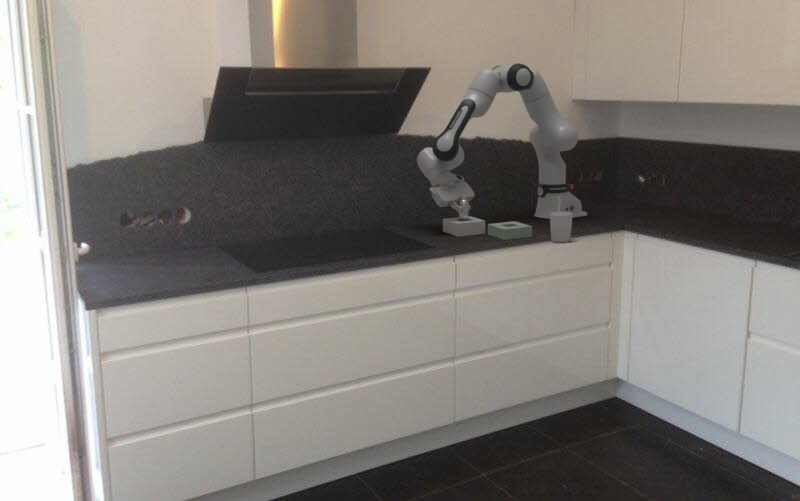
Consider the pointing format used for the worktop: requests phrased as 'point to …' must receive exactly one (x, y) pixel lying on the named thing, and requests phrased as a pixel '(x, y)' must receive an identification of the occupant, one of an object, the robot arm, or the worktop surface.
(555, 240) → the white cup
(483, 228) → the grey block with hole
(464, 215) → the silver gold-banded cylinder
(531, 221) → the worktop surface
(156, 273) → the worktop surface
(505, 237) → the socket block
